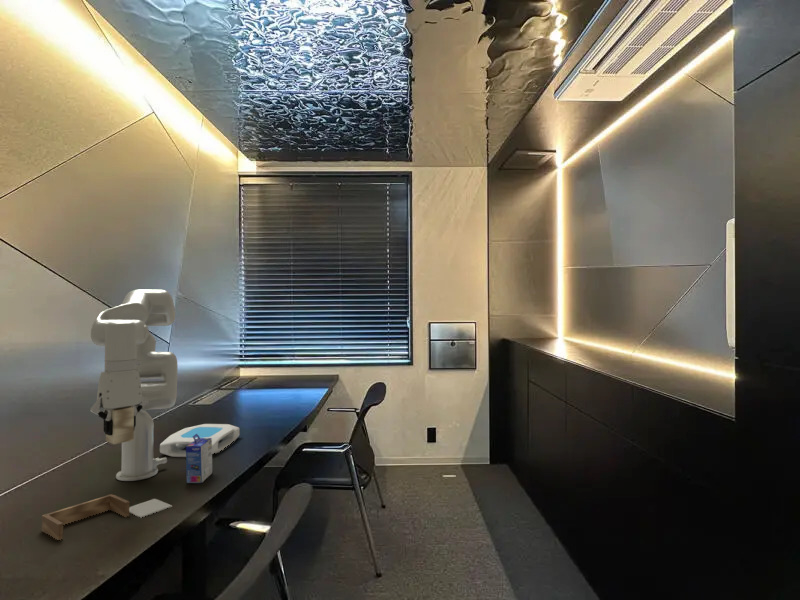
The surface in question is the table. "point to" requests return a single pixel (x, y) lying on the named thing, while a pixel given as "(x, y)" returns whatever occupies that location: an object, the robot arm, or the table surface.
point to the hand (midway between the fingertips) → (119, 431)
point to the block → (122, 425)
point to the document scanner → (185, 437)
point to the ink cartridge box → (198, 459)
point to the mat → (148, 508)
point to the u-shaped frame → (82, 513)
